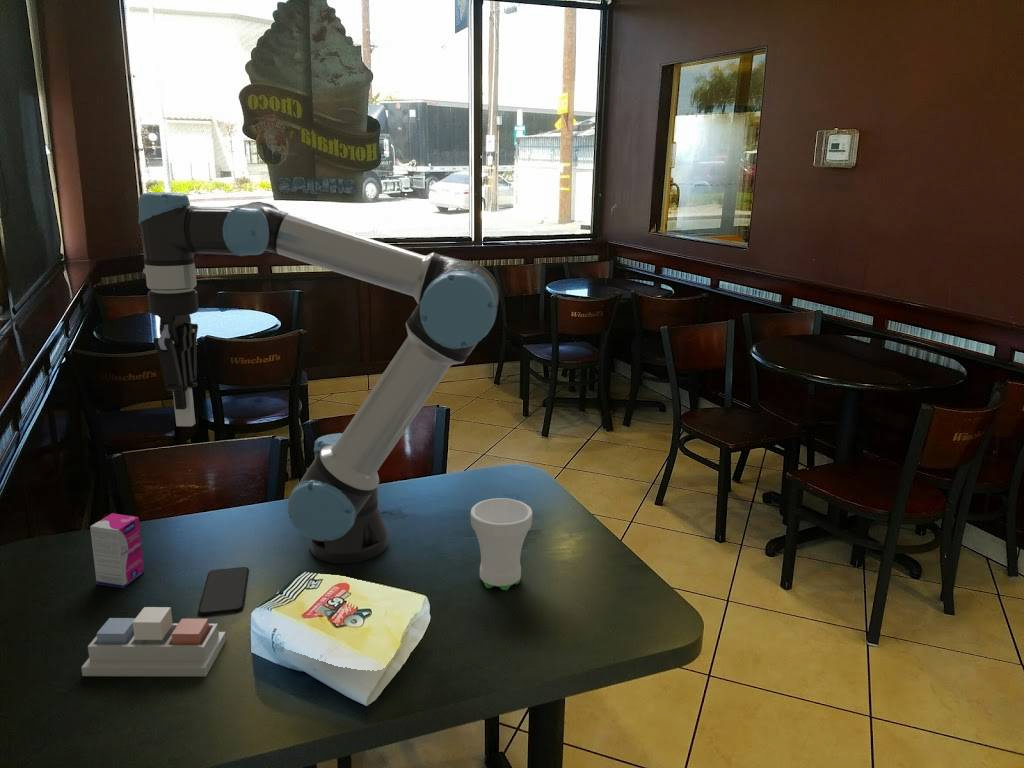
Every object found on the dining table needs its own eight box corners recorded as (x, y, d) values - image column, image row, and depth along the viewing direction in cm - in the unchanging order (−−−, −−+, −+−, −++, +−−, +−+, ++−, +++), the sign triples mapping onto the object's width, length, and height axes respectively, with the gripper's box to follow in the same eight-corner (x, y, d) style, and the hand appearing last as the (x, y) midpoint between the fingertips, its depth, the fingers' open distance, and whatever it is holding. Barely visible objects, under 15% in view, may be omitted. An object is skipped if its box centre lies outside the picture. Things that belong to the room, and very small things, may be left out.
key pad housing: (226, 639, 121) (224, 618, 120) (205, 676, 113) (203, 653, 112) (111, 639, 121) (108, 617, 120) (82, 676, 112) (78, 652, 111)
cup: (457, 580, 140) (457, 510, 136) (499, 559, 148) (500, 492, 144) (501, 604, 133) (503, 531, 129) (542, 581, 141) (545, 511, 137)
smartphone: (249, 565, 143) (243, 608, 129) (250, 570, 143) (243, 613, 129) (208, 570, 141) (196, 613, 127) (208, 574, 141) (197, 618, 127)
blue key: (138, 635, 118) (135, 618, 117) (126, 651, 114) (123, 633, 113) (111, 634, 118) (109, 618, 117) (99, 650, 114) (96, 633, 113)
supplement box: (124, 588, 135) (117, 530, 132) (95, 584, 136) (87, 526, 133) (146, 572, 140) (139, 515, 137) (118, 568, 142) (110, 512, 138)
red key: (209, 635, 118) (208, 618, 117) (200, 651, 114) (198, 634, 114) (183, 635, 118) (181, 618, 117) (173, 651, 114) (171, 633, 113)
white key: (172, 624, 117) (170, 607, 117) (162, 639, 114) (159, 622, 113) (146, 624, 117) (144, 607, 116) (134, 639, 114) (132, 622, 113)
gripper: (165, 282, 131) (178, 412, 138) (131, 295, 119) (147, 437, 125) (209, 283, 131) (220, 413, 138) (179, 296, 119) (193, 438, 125)
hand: (185, 424), depth 131 cm, fingers closed
